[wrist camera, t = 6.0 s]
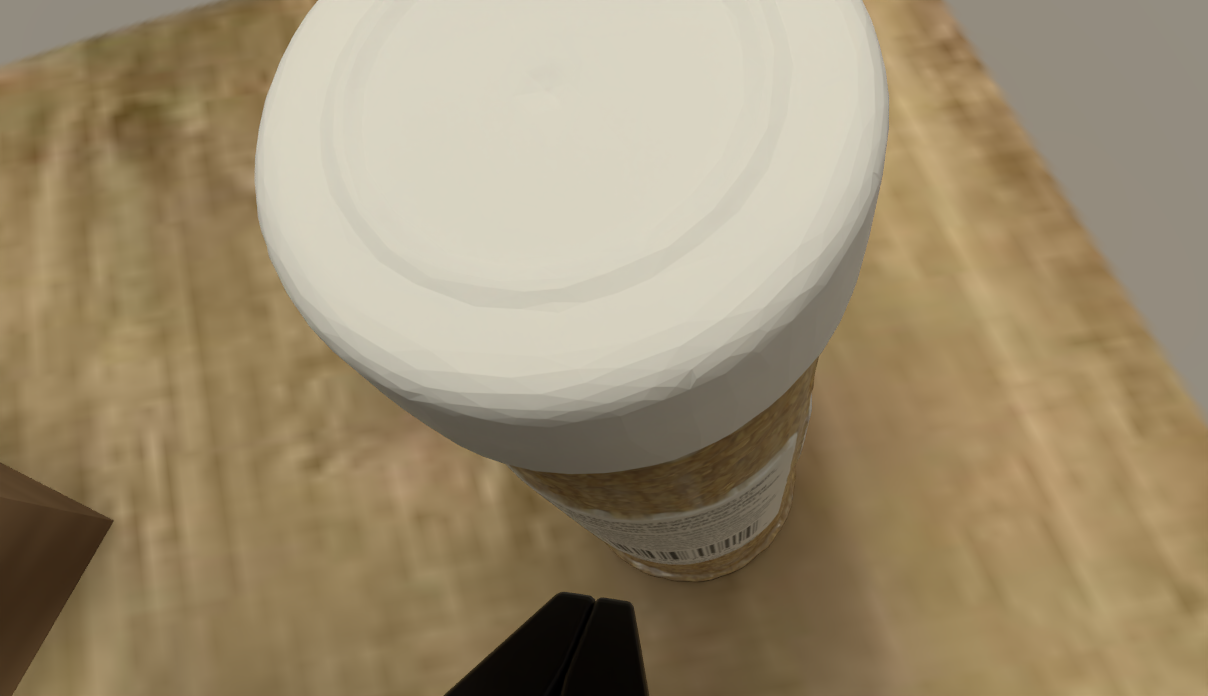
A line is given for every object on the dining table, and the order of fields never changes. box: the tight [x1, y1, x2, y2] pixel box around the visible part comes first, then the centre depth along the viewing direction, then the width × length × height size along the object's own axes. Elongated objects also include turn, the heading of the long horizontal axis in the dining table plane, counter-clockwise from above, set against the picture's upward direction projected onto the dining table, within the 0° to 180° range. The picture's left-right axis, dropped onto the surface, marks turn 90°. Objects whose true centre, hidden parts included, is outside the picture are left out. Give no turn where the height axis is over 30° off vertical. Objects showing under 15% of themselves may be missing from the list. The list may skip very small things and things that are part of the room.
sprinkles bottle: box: [255, 0, 889, 581], centre depth 12 cm, size 5×5×14 cm
